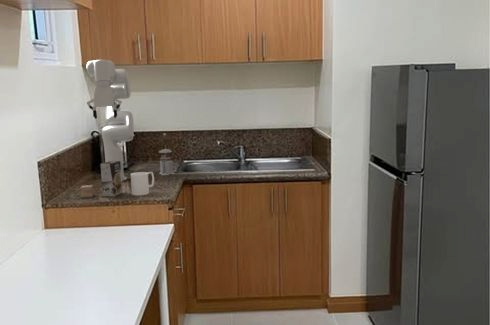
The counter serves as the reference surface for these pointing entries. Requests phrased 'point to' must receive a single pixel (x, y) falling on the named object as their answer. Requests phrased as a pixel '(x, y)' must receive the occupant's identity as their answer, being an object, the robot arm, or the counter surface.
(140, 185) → the cup
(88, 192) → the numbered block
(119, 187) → the coffee box
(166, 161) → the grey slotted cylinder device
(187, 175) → the counter surface
